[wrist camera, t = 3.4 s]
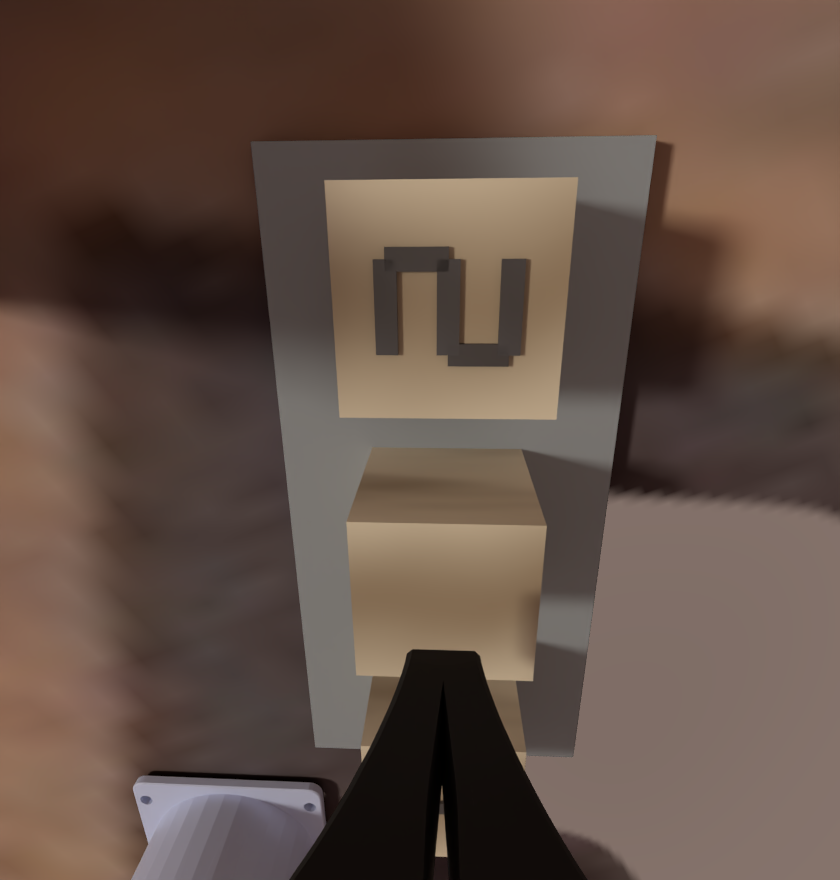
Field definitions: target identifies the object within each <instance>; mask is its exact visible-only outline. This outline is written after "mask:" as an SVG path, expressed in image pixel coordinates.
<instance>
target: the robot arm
mask: <svg viewBox="0 0 840 880" xmlns="http://www.w3.org/2000/svg"><path fill="white" fill-rule="evenodd" d="M441 789H442V792H443V805H444V819H445V833H446V847H447V860H448V874H449V880H587V878H586V877H585V875H584V874H583V872H582V871H581V869H580V868H579V866H578V864H577V863H576V861H575V860H574V858H573V856H572V855H571V853H570V851H569V850H568V848H567V846H566V845H565V843H564V841H563V840H562V838H561V836H560V835H559V833H558V831H557V830H556V828H555V826H554V825H553V823H552V821H551V819H550V818H549V816H548V814H547V812H546V810H545V809H544V807H543V805H542V803H541V801H540V799H539V797H538V796H537V794H536V792H535V790H534V788H533V786H532V784H531V782H530V780H529V778H528V776H527V774H526V772H525V770H524V768H523V766H522V764H521V762H520V760H519V758H518V756H517V754H516V752H515V750H514V747H513V745H512V743H511V741H510V739H509V736H508V734H507V732H506V730H505V727H504V725H503V723H502V721H501V718H500V716H499V713H498V711H497V708H496V706H495V703H494V700H493V698H492V695H491V692H490V689H489V687H488V684H487V680H486V677H485V674H484V670H483V667H482V663H481V658H480V655H479V654H478V653H476V652H475V651H459V650H425V649H412V650H411V651H410V652H408V653H407V655H406V659H405V664H404V667H403V670H402V673H401V677H400V679H399V682H398V685H397V688H396V690H395V693H394V695H393V698H392V700H391V703H390V705H389V708H388V710H387V712H386V714H385V716H384V718H383V721H382V723H381V725H380V727H379V729H378V731H377V734H376V736H375V738H374V740H373V742H372V744H371V746H370V748H369V750H368V752H367V754H366V756H365V757H364V759H363V761H362V763H361V765H360V767H359V769H358V770H357V772H356V774H355V776H354V778H353V780H352V782H351V783H350V785H349V787H348V789H347V791H346V792H345V794H344V796H343V797H342V799H341V801H340V803H339V804H338V806H337V808H336V809H335V811H334V813H333V814H332V816H331V817H330V819H329V821H328V822H327V824H326V817H325V808H324V798H323V791H322V788H321V787H320V786H319V785H317V784H315V783H311V782H290V781H266V780H242V779H219V778H195V777H172V776H148V775H147V776H141V777H139V778H138V780H137V781H136V783H135V785H134V787H133V792H134V795H135V798H136V802H137V805H138V809H139V812H140V816H141V819H142V823H143V826H144V830H145V833H146V837H147V840H148V846H147V848H146V850H145V852H144V854H143V857H142V859H141V861H140V863H139V865H138V867H137V869H136V871H135V873H134V875H133V877H132V879H131V880H433V875H434V864H435V853H436V843H437V832H438V822H439V811H440V800H441Z"/></svg>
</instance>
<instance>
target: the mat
mask: <svg viewBox="0 0 840 880" xmlns="http://www.w3.org/2000/svg"><path fill="white" fill-rule="evenodd" d="M656 138H657V135H644V136H579V137H514V138H449V139H383V140H318V141H253V142H251V150H252V159H253V169H254V178H255V187H256V197H257V206H258V215H259V225H260V234H261V244H262V253H263V262H264V272H265V281H266V290H267V300H268V309H269V318H270V328H271V337H272V346H273V356H274V365H275V374H276V384H277V393H278V402H279V412H280V421H281V431H282V440H283V449H284V459H285V468H286V477H287V487H288V496H289V505H290V515H291V524H292V533H293V543H294V552H295V561H296V571H297V580H298V590H299V599H300V608H301V618H302V627H303V636H304V646H305V655H306V664H307V674H308V683H309V692H310V702H311V711H312V720H313V730H314V739H315V747H324V748H349V749H361V742H362V736H363V730H364V724H365V718H366V712H367V706H368V700H369V694H370V688H371V683H372V677H373V676H359V675H356V664H355V649H354V633H353V618H352V602H351V587H350V571H349V556H348V540H347V525H346V521H347V519H348V516H349V513H350V510H351V507H352V504H353V501H354V499H355V496H356V493H357V490H358V487H359V484H360V481H361V478H362V476H363V473H364V470H365V467H366V464H367V461H368V458H369V455H370V453H371V450H372V447H388V448H470V449H521V450H522V453H523V456H524V459H525V462H526V465H527V468H528V471H529V474H530V477H531V480H532V483H533V486H534V489H535V492H536V495H537V498H538V501H539V504H540V507H541V510H542V513H543V516H544V519H545V522H546V525H547V530H546V541H545V552H544V563H543V574H542V585H541V596H540V607H539V618H538V629H537V640H536V652H535V663H534V674H533V681H516V686H517V693H518V699H519V706H520V713H521V720H522V726H523V733H524V740H525V746H526V755H528V756H553V757H573V754H574V747H575V739H576V731H577V724H578V716H579V709H580V702H581V695H582V687H583V680H584V673H585V665H586V658H587V650H588V643H589V635H590V627H591V621H592V613H593V606H594V598H595V591H596V583H597V576H598V569H599V561H600V554H601V546H602V538H603V530H604V524H605V516H606V509H607V502H608V494H609V487H610V479H611V472H612V465H613V457H614V450H615V442H616V435H617V427H618V420H619V413H620V405H621V398H622V390H623V383H624V375H625V368H626V361H627V353H628V346H629V338H630V331H631V323H632V316H633V309H634V301H635V294H636V286H637V279H638V271H639V264H640V257H641V249H642V242H643V234H644V227H645V219H646V212H647V205H648V197H649V190H650V182H651V175H652V167H653V160H654V152H655V145H656ZM557 177H578V186H577V197H576V208H575V219H574V230H573V242H572V253H571V264H570V275H569V286H568V297H567V308H566V319H565V330H564V341H563V352H562V363H561V374H560V386H559V397H558V408H557V419H556V420H535V419H430V418H340V417H339V401H338V386H337V370H336V355H335V339H334V324H333V308H332V293H331V277H330V262H329V246H328V231H327V215H326V200H325V184H324V180H387V179H472V178H557Z"/></svg>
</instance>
